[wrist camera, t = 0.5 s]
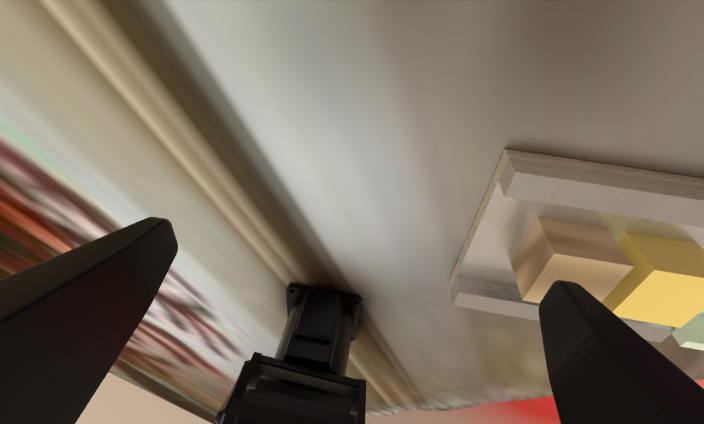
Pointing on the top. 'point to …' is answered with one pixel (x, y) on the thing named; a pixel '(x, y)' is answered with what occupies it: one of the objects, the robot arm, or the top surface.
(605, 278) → the oak chip
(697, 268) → the yellow block
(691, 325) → the tray
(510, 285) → the slot board
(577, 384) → the robot arm
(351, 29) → the top surface
